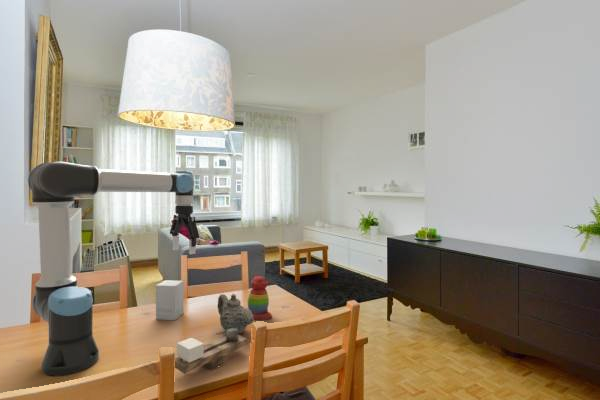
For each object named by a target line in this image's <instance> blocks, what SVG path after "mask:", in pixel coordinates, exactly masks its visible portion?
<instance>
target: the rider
mask: <svg viewBox="0 0 600 400" xmlns="http://www.w3.org/2000/svg"><path fill="white" fill-rule="evenodd" d="M204 344H205V343H203V342H201V341H200V340H197V339H195V338H193V337H189V338H187V339H183V340H182V341H178V342H177V343H176V357H180V358H182V359H183V362H185V361H187V362H189V363H190V362H192V361H194V360H196V359H199V358H201V357H203V356H204Z"/></svg>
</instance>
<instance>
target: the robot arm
mask: <svg viewBox="0 0 600 400" xmlns="http://www.w3.org/2000/svg"><path fill="white" fill-rule="evenodd" d="M27 182H28V183H27V184H28V187H29V189H30V190H31V203H32V204H33V205H34V206H36V207H37V208H38V209H37V210H38V233H39V234H38V235H39V261H40V263H39V264H40V278H39V280H38V281H36V283H35V284H34V285H35V293H34V295H33V296H32V297H33V298H32V307H33V311H34V312H35V313H36V315H38V317H40V318H41V319H42V320H44V321H45V322H46V323H48V346H47V349H46V351H45V353H44V355H43V359H42V362H41V372H42V371H43V372H44V373H45V374H44V373H43V372H42V373H43V374H44V375H46V374H48V375H47V376H51V375H60V376H66V374H67V375H71V373H72V374H76V373H79V372H81V371H84V370H86V369H89V368H90V367H92V366H93V365H95V364H96V363H97V362H98V361H99V357H100V354H99V353H100V350H99V347H98V346H97V343H96V340H95V338H94V336H93V335H94V334H93V309H94V308H93V304H94V299H93V294H92V291H91V290H90V289H89V288H86V287H84V286H81V287H80V286H78V280H77V277H76V276H74V275H73V274H72V253H71V252H72V250H71V249H72V248H71V218H70V217H71V216H70V215H71V214H70V213H71V212H70V207H71V205H73V204H74V203H75V197H76V196H91V195H93V196H94V195H97V194H98V193H103V192H104V193H105V192H106V193H107V192H109V193H175V194H174V195H175V197H174V198H175V200H174V203H175V206H174V207H175V211H174V213H175V214H173V220H172V223H171V226H170V231H169V234H170V235H171V236H172V251H179V250H180V232H181V230H182V228H183V227H184V228H185V229H186V231H187V233H188V236H189V241H188V248H189V249H188V254H189V255H196V251H197V250H196V248H197V247H196V246H197V239H200V234H199V230H198V227H197V223H196V216H194V215H193V216H191V215H192V214H193V213H194V206H193V204H194V186H195V181H194V172H193V171H191V170H182V169H181V170H180V169H179V170H176V171H175V173H173V172H172V173H171V172H158V171H157V172H154V171H139V170H138V171H136V170H135V171H134V170H120V169H103V168H98V167H97V166H95V165H86V164H79V163H74V162H67V161H49V162H43V163H40V164H38V165H36V166H35V167H34V168H33V169H32V170H30V172H29V174H28V176H27ZM75 372H76V373H75Z"/></svg>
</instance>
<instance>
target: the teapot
mask: <svg viewBox="0 0 600 400" xmlns="http://www.w3.org/2000/svg"><path fill="white" fill-rule="evenodd" d="M241 303H242V302H241V299H239V298H237V295H236V294H234V293H232V294H231V296H230V298H229V297H228V296H227V294H224V293H221V294H220V295H219V296H218V298H217V310H218V311H217V312H218V314H219V321H220V326H221V327H222V328H223V329H224V331H225V332H226V331H227V330H228V329H231V328H235V329H238V335H240V334H242V333H244V332H245V330H246V329H247V327H248V326H249V325H251V324H252V323H254V320H255V319H253V318H254V317H253V314H252V312H251V310H249V309H248V307H245V306H242V305H241Z"/></svg>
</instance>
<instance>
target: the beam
mask: <svg viewBox="0 0 600 400" xmlns="http://www.w3.org/2000/svg"><path fill="white" fill-rule="evenodd" d="M225 333H226V336H223V337H222V338H219V339H216V340H213V341H211V342H208V343H207V344H205V345H204V356H203V357H201V358H199V359H196V360H194V361H192V362H190V363H189V362H187V361H185V362H183V359H182V358H180V357H178V356H176V357H174V358H175V367H174V368H175V369H176V370H178V371H180V372H181V373H183V374H184V375H185V374H187V373H188V372H191V371H193V370H196V369H197V368H199V367H202V366H204V367H206V368H207V369H209V368H210V369H209V370H211V371H213V370H215V369H218V368H219V367H218V366H220V367H222V366H224V365H225V363H226V355H227V354H230V353H231V352H234V351H236V350H238V349H240V348H242V347H244V346H247V345H248V338H247V337H244V336H242V335H240V334H239V333H238V329H235V328H231V329H228V330H227V331H225ZM223 364H224V365H223ZM221 365H222V366H221ZM214 368H215V369H214ZM212 369H213V370H212Z"/></svg>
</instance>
